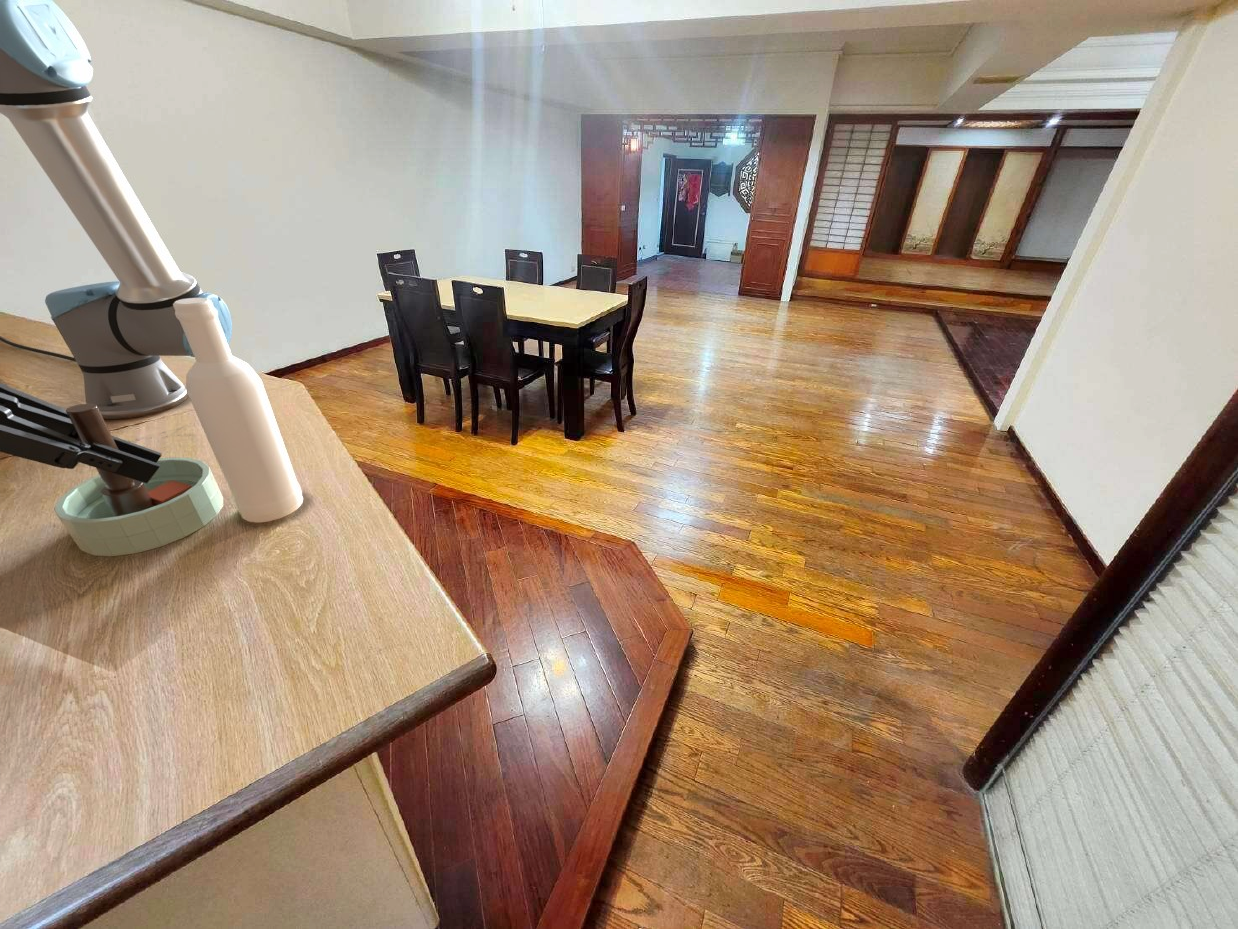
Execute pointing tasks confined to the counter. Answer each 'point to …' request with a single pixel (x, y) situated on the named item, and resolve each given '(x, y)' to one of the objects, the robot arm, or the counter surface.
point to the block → (167, 492)
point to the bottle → (237, 419)
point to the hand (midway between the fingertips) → (154, 467)
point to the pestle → (118, 489)
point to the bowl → (145, 528)
